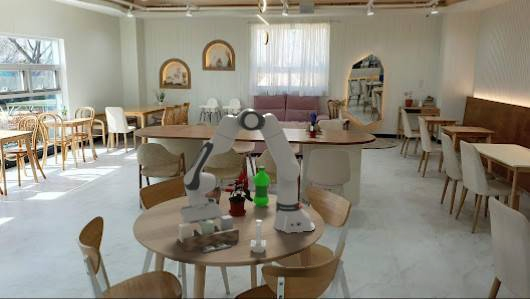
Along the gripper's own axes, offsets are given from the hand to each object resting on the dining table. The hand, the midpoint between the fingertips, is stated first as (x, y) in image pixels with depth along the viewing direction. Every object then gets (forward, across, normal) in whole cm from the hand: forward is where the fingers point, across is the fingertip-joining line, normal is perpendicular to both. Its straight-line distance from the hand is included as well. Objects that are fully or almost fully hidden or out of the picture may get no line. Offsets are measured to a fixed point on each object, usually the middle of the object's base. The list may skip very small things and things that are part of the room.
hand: (206, 228), depth 199 cm
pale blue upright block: (+3, +11, +2) cm, 12 cm away
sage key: (+4, 0, +1) cm, 4 cm away
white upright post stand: (+21, +17, -13) cm, 30 cm away
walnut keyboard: (+8, 0, 0) cm, 8 cm away
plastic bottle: (-18, +49, +26) cm, 59 cm away
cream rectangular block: (+3, -11, +2) cm, 12 cm away
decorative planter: (-28, +22, +36) cm, 50 cm away
